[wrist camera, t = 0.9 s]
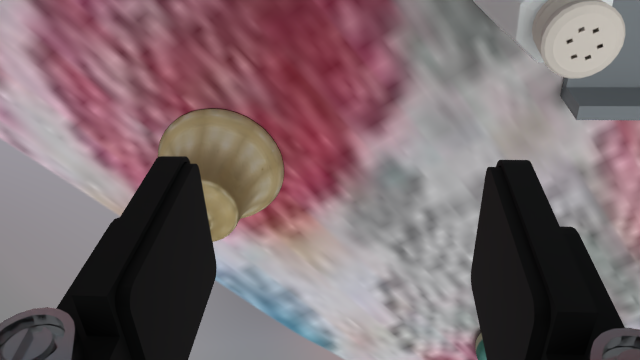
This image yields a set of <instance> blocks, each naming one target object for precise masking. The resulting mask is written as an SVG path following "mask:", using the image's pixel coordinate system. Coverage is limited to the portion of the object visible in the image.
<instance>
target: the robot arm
mask: <svg viewBox="0 0 640 360" xmlns="http://www.w3.org/2000/svg"><path fill="white" fill-rule="evenodd" d="M215 277H216V259H215V254H214V248H213V243H212V237H211V231H210V226H209V220H208V215H207V209H206V203H205V198H204V192H203V187H202V181H201V175H200V170H199V167H198V165H197V164H191V163H190V161H189V159H188V157H185V156H160V157H158V158H157V159H156V161H155V162H154V164H153V165H152V167H151V169H150V170H149V172H148V173H147V175H146V177H145V178H144V180H143V181H142V183H141V185H140V186H139V188H138V189H137V191H136V193H135V194H134V196H133V197H132V199H131V201H130V202H129V204H128V205H127V207H126V209H125V210H124V212H123V213H122V215H121V217H120V218H117V219H114V221H113V222H112V223H111V224H110V225H109V227H108V229H107V230H106V232H105V233H104V235H103V236H102V238H101V240H100V241H99V243H98V244H97V246H96V247H95V249H94V250H93V252H92V254H91V255H90V257H89V258H88V260H87V261H86V263H85V265H84V266H83V268H82V269H81V271H80V272H79V274H78V276H77V277H76V279H75V280H74V282H73V284H72V285H71V287H70V288H69V290H68V291H67V293H66V294H65V296H64V297H63V299H62V301H61V302H60V304H59V305H58V307H57V308H56V309H54V308H48V307H47V308H37V309H32V310H28V311H25V312H22V313H19V314H16V315H14V316H12V317H11V318H8V319H6V320H4V321H3V322H2V323H0V360H188V358H189V355H190V352H191V349H192V346H193V343H194V340H195V337H196V334H197V331H198V328H199V325H200V322H201V319H202V316H203V313H204V310H205V307H206V305H207V301H208V299H209V296H210V293H211V290H212V287H213V284H214V281H215ZM471 285H472V291H473V296H474V300H475V305H476V310H477V315H478V319H479V324H480V329H481V334H482V339H483V343H484V348H485V353H486V358H487V360H640V330H638V329H632V328H625V327H624V325H623V323H622V321H621V319H620V317H619V315H618V313H617V311H616V309H615V307H614V305H613V303H612V301H611V299H610V297H609V295H608V293H607V291H606V288H605V286H604V284H603V282H602V280H601V278H600V276H599V274H598V272H597V270H596V268H595V266H594V264H593V262H592V260H591V258H590V256H589V254H588V252H587V250H586V248H585V246H584V243H583V241H582V239H581V237H580V235H579V234H578V232H577V231H576V229H575V228H573V227H560V226H559V224H558V222H557V219H556V217H555V215H554V213H553V211H552V208H551V206H550V204H549V202H548V200H547V197H546V195H545V193H544V191H543V188H542V186H541V184H540V182H539V180H538V177H537V175H536V173H535V171H534V169H533V166H532V164H531V162H530V161H528V160H499V161H498V163H497V166H496V167H488V168H487V171H486V176H485V183H484V189H483V196H482V202H481V209H480V216H479V222H478V229H477V236H476V242H475V249H474V256H473V262H472V269H471Z"/></svg>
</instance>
